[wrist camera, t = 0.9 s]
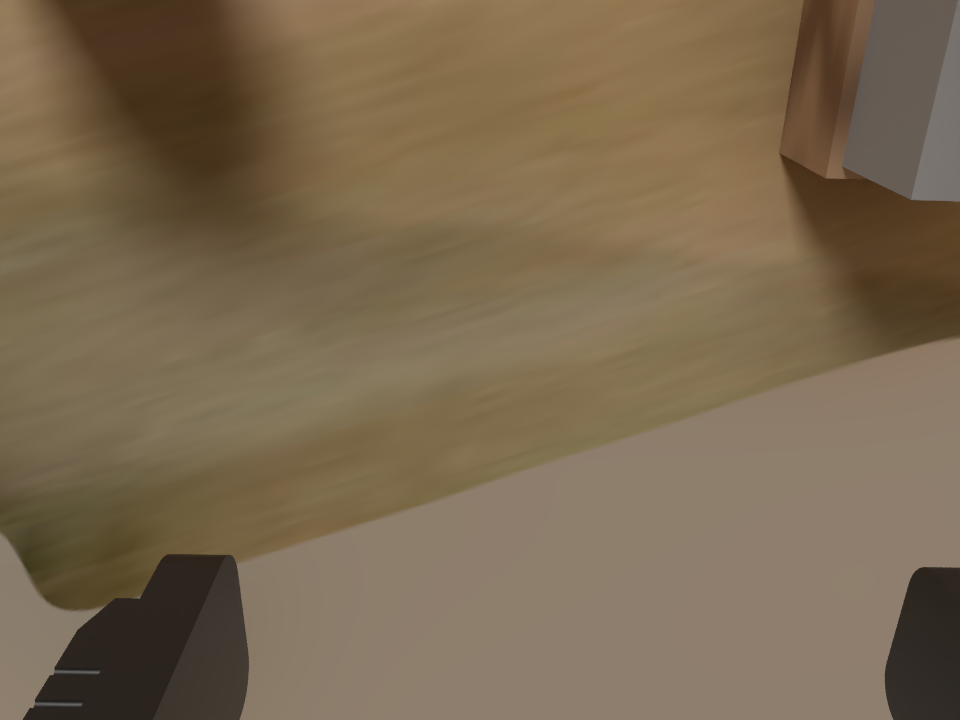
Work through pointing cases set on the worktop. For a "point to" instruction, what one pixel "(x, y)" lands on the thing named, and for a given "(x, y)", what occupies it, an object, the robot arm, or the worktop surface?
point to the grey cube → (909, 101)
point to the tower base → (825, 84)
